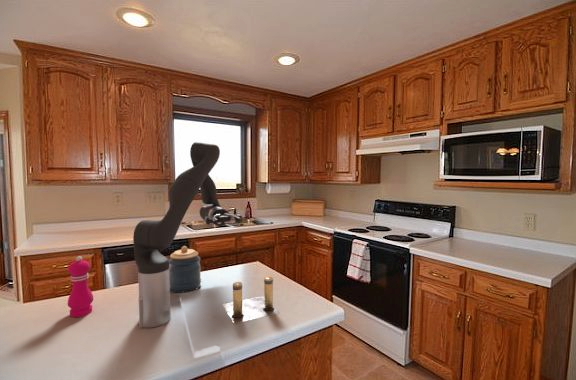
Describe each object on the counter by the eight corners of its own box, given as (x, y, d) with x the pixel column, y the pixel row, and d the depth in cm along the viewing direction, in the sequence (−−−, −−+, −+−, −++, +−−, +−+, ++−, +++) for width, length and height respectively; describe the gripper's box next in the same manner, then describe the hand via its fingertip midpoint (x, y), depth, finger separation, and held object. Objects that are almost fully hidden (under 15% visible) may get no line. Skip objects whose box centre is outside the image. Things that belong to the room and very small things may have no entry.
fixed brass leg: (266, 312, 96) (266, 280, 95) (262, 308, 99) (262, 277, 98) (274, 310, 97) (274, 279, 97) (271, 306, 100) (270, 276, 99)
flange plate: (233, 327, 89) (233, 323, 88) (222, 307, 102) (222, 304, 102) (279, 316, 96) (279, 312, 96) (263, 298, 109) (263, 295, 109)
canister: (200, 279, 129) (200, 241, 128) (201, 290, 116) (200, 248, 115) (170, 283, 124) (169, 243, 123) (167, 295, 112) (166, 251, 111)
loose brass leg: (234, 319, 91) (234, 286, 91) (232, 315, 94) (231, 282, 93) (243, 317, 93) (243, 284, 92) (241, 313, 95) (240, 281, 95)
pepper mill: (91, 306, 103) (89, 252, 102) (95, 313, 98) (93, 256, 96) (66, 312, 98) (64, 256, 97) (69, 320, 93) (67, 260, 91)
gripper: (201, 208, 119) (208, 213, 105) (234, 206, 125) (245, 210, 111) (201, 225, 119) (209, 233, 105) (234, 223, 126) (245, 229, 111)
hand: (228, 221), depth 108 cm, fingers open, 8 cm apart
